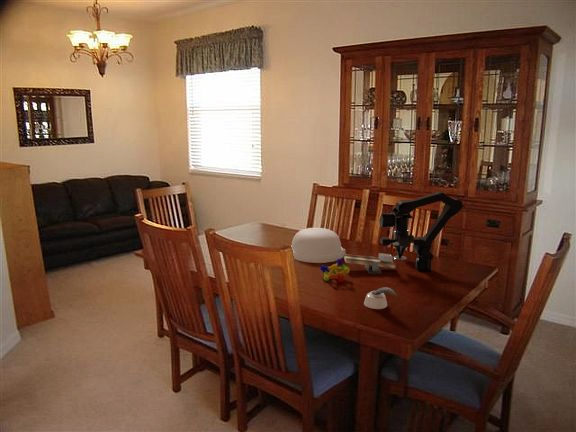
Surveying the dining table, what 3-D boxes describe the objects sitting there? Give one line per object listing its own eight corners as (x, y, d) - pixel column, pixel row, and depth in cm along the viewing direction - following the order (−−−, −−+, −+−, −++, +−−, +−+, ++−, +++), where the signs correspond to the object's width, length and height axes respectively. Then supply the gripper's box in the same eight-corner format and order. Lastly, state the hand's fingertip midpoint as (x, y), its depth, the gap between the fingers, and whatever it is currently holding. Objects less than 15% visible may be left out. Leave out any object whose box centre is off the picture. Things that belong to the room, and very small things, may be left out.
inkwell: (377, 298, 188) (378, 275, 186) (407, 315, 172) (409, 290, 170) (359, 302, 184) (360, 279, 181) (388, 320, 168) (389, 294, 166)
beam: (391, 265, 226) (392, 259, 226) (394, 269, 219) (395, 263, 219) (343, 259, 226) (344, 253, 225) (345, 264, 219) (346, 258, 218)
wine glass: (391, 259, 240) (392, 231, 237) (393, 255, 248) (395, 228, 245) (406, 260, 238) (408, 232, 234) (408, 256, 245) (410, 229, 242)
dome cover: (347, 248, 260) (348, 224, 257) (343, 265, 231) (344, 238, 228) (291, 245, 266) (292, 222, 263) (282, 261, 237) (282, 234, 234)
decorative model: (323, 277, 200) (317, 259, 213) (327, 293, 204) (321, 274, 218) (352, 270, 200) (344, 252, 213) (355, 286, 204) (347, 267, 217)
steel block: (389, 261, 224) (391, 254, 224) (391, 264, 220) (393, 257, 219) (377, 259, 224) (378, 253, 224) (379, 262, 220) (380, 255, 219)
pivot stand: (376, 266, 228) (377, 255, 227) (381, 273, 218) (381, 262, 216) (364, 266, 228) (365, 255, 227) (368, 273, 218) (369, 262, 216)
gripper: (385, 231, 211) (383, 263, 214) (426, 231, 211) (423, 263, 214) (380, 225, 221) (379, 256, 225) (419, 225, 222) (417, 256, 225)
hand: (399, 258), depth 222 cm, fingers closed
